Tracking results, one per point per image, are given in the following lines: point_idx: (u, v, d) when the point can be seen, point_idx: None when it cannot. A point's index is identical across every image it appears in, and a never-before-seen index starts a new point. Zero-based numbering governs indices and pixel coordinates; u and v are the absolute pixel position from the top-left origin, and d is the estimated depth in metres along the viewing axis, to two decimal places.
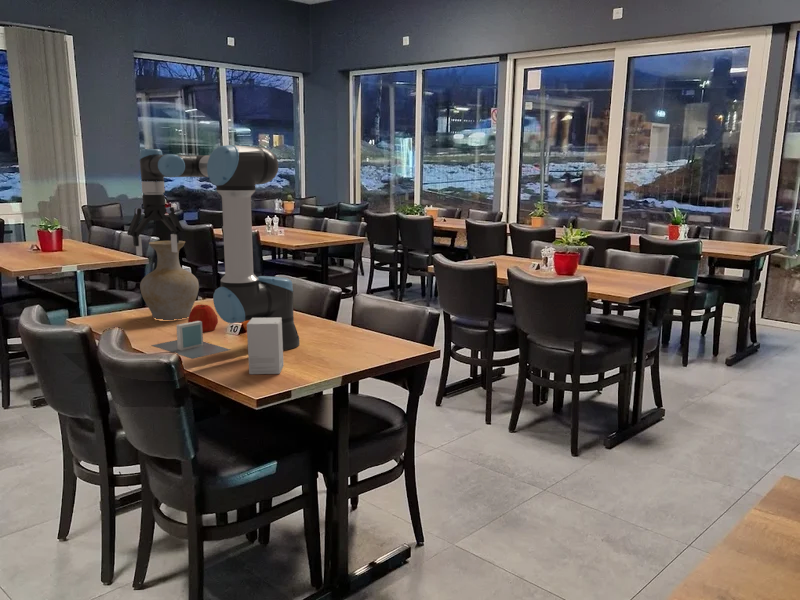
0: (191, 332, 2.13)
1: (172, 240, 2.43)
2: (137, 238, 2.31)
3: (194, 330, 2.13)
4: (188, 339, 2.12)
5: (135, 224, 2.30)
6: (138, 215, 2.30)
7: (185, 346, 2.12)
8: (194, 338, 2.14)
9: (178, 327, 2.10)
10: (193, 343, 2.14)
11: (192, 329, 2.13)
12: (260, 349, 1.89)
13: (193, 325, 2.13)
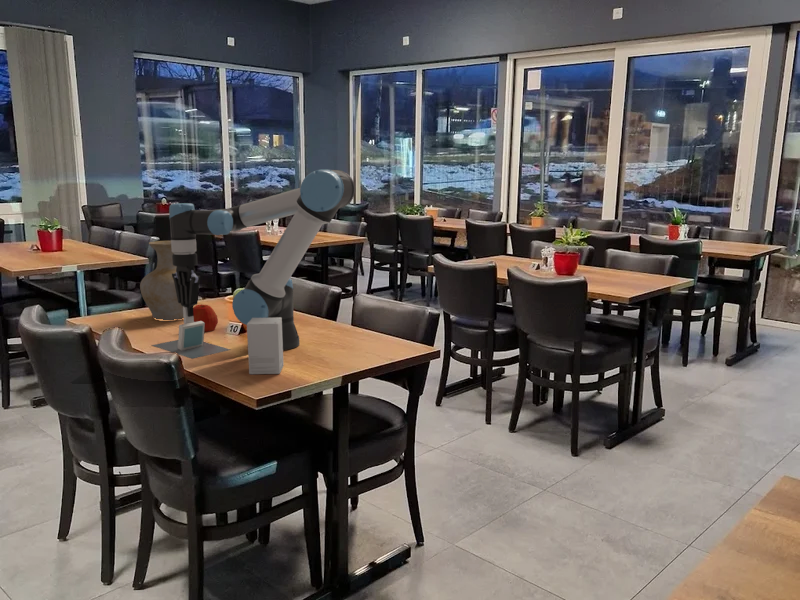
0: (193, 333, 2.12)
1: None
2: None
3: (196, 331, 2.13)
4: (189, 340, 2.12)
5: (176, 290, 2.13)
6: (174, 280, 2.13)
7: (185, 346, 2.12)
8: (195, 339, 2.13)
9: (181, 328, 2.09)
10: (194, 343, 2.14)
11: (194, 330, 2.12)
12: (260, 349, 1.89)
13: (196, 326, 2.12)
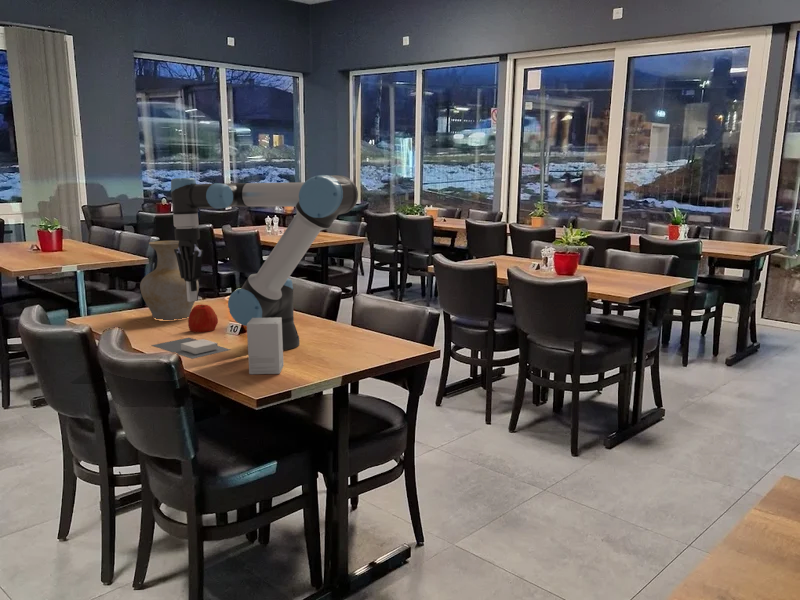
0: None
1: None
2: None
3: None
4: None
5: (179, 266, 2.14)
6: (176, 256, 2.14)
7: None
8: None
9: (194, 351, 2.06)
10: None
11: None
12: (260, 349, 1.89)
13: None
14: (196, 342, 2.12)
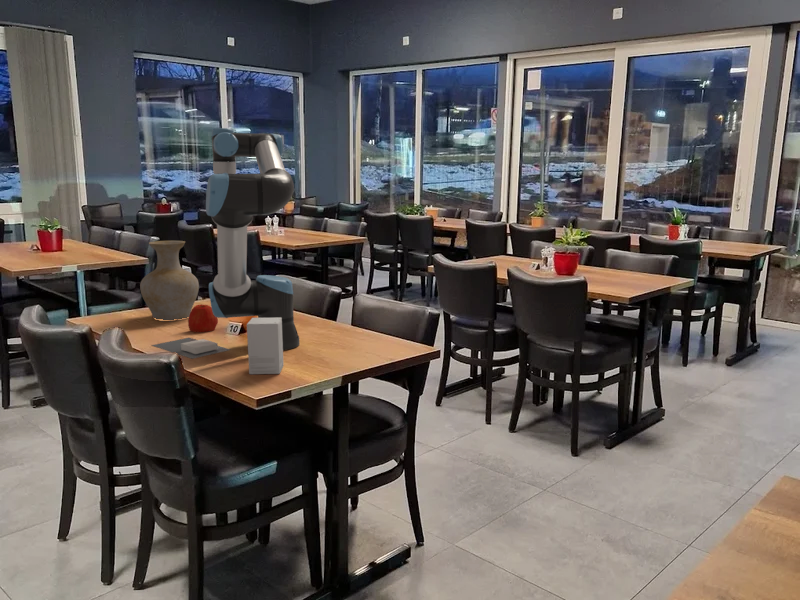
0: None
1: None
2: None
3: None
4: None
5: None
6: None
7: None
8: None
9: (194, 351, 2.06)
10: None
11: None
12: (260, 349, 1.89)
13: None
14: (196, 342, 2.12)
